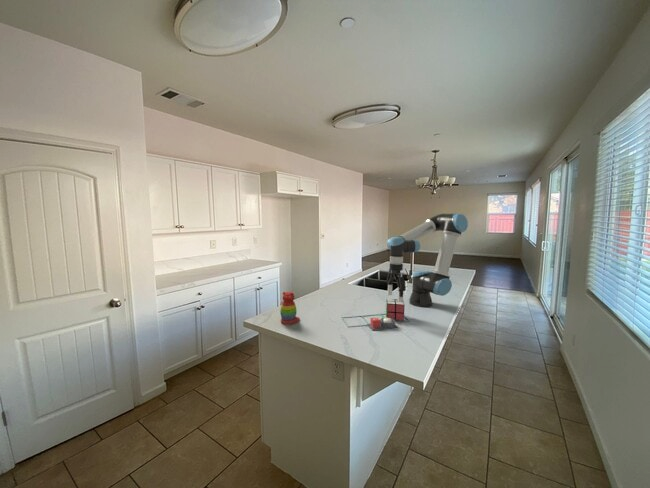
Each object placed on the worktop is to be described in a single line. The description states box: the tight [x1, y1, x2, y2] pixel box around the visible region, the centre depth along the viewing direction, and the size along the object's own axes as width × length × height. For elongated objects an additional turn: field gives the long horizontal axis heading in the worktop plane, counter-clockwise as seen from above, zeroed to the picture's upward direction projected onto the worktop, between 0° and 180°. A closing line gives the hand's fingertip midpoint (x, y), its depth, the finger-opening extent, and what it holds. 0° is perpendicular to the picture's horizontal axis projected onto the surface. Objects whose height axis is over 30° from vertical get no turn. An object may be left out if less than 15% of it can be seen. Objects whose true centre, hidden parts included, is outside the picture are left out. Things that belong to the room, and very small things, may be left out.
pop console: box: [366, 316, 399, 331], centre depth 148 cm, size 15×8×5 cm, turn 102°
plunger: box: [383, 317, 392, 323], centre depth 149 cm, size 5×5×3 cm
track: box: [341, 313, 411, 328], centre depth 158 cm, size 38×14×1 cm, turn 102°
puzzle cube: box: [385, 298, 406, 322], centre depth 160 cm, size 10×10×10 cm
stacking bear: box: [279, 291, 301, 326], centre depth 155 cm, size 11×10×18 cm
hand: (394, 298), depth 159 cm, fingers open, 13 cm apart
